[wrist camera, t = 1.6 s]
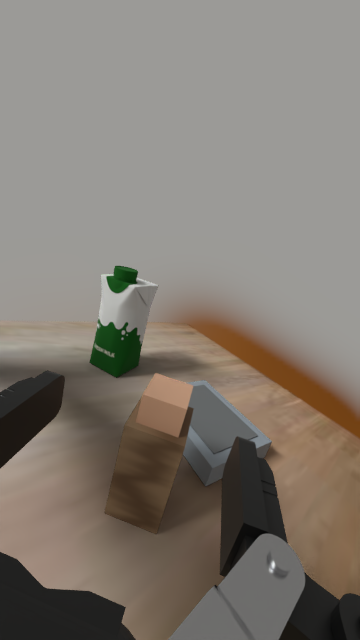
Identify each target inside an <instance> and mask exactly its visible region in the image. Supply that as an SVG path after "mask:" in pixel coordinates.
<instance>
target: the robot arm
mask: <svg viewBox="0 0 360 640" xmlns="http://www.w3.org/2000/svg"><path fill="white" fill-rule="evenodd" d="M64 381H65V378H64V376H62V375H59V374H56V373H53V372H51V371H45V372H43V373H42V374H40V375H39V376H37V377H36V378H32V377H31V378H28V379H25V380H22V381H18V382H17V383H15V384H13V385H12V386H10V387H8V388H7V390H6V389H5V390H3V391H2V392H0V468H1V467H3V466H4V465H5V464H6V463H7V462H8V461H9V460H10V459H11V458H12V457H13V456H14V455H15V454H16V453H17V452H19V451H20V450H21V449H22V448H23V447H24V446H25V445H26V444H27V443H28V442H29V441H30V440H31V439H32V438H33V437H35V436H36V435H37V434H38V433H39V432H40V431H41V430H42V429H43V428H44V427H45V426H46V425H47V424H48V423H49V422H51V421H52V420H53V419H54V418H55V417H56V415H57V414H58V412H59V410H60V408H61V404H62V397H63V389H64ZM277 496H278V495H277V490H276V487H275V481H274V476H273V472H272V470H271V468H270V467H269V465H268V463H267V462H266V460H265V459H262V458H259V457H257V450H256V444H255V442H253V441H250V440H247V439H244V438H241V437H238V436H237V437H236V438H235V440H234V443H233V446H232V448H231V451H230V453H229V456H228V458H227V461H226V464H225V467H224V471H223V477H222V508H221V549H220V575H222V576H224V577H225V578H224V580H223V581H222V582H221V583H220V584H219V585H218V586H216V585H215V586H213V587H212V588H211V589H210V590H209V591H208V592H207V593H206V595H205V596H204V597H203V598H202V599H201V601H200V602H199V603H198V604H197V605H196V607H195V608H194V609H193V610H192V611H191V613H190V614H189V615H188V616H187V617H186V619H185V620H184V621H183V622H182V624H181V625H180V626H179V627H178V628H177V630H176V631H175V632H174V633H173V634H172V636H171V637H170V638H169V639H168V640H360V596H358V595H356V594H351V593H349V594H345V595H343V597H342V598H341V599H340V600H338V599H337V598H336V597H334V596H333V595H332V594H330V593H329V592H328V591H326V590H325V589H324V588H322V587H321V586H320V585H318V584H317V583H316V582H315V581H313V580H312V579H311V578H310V577H309V576H308V575H307V574H306V573H305V572H304V569H303V567H302V564H301V562H300V560H299V558H298V556H297V555H296V553H295V552H294V550H293V549H292V548H291V547H290V546H289V545H288V543H287V539H286V534H285V529H284V524H283V519H282V514H281V510H280V505H279V500H278V498H277ZM125 608H126V607H124V606H122V605H119V604H117V603H115V602H112V601H110V600H108V599H106V598H103V597H101V596H99V595H97V594H94V593H92V592H90V591H77V590H60V589H47V588H45V587H43V586H42V585H41V584H40V583H39V582H38V581H37V580H36V579H35V578H34V577H33V576H32V575H31V574H30V573H29V571H28V570H27V569H26V568H25V567H24V566H23V565H22V564H21V563H20V562H19V561H18V560H17V559H15V558H13V557H10V556H8V555H6V554H4V553H1V552H0V640H136V639H135V638H134V637H133V635H132V634H131V633H130V631H129V630H128V629H127V628H126V627H125V626H124V625H123V624H122V623H121V622H122V618H123V615H124V611H125Z"/></svg>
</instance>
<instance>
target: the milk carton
mask: <svg viewBox="0 0 360 640" xmlns="http://www.w3.org/2000/svg"><path fill="white" fill-rule="evenodd" d="M137 274H138V271H137V270H135V269H132V268H128V267H123V266H115V269H114V274H102V275H101V282H102V283H101V284H102V299H101V305H100V312H99V318H98V324H97V330H96V336H95V341H94V345H93V350H92V354H91V359H90V363H91V364H93V365H95V366H96V367H98V368H100V369H102V370H104V371H105V372H107V373H109V374H111V375H113V376H115V377H116V378H117V377H119V376H120V375H122V374H124V373H126V372H127V371H129V370H131V369H133V368H135V367H136V366H138V364H139V358H140V352H141V346H142V342H143V338H144V333H145V329H146V325H147V320H148V316H149V311H150V307H151V304H152V301H153V299H154V296H155V293H156V290H157V288H158V285H156V284H153V283H150V282H148V281H145V280H142V279H139V278H137Z"/></svg>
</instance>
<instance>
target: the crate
mask: <svg viewBox="0 0 360 640" xmlns="http://www.w3.org/2000/svg"><path fill="white" fill-rule="evenodd" d="M141 398H142V397H141ZM140 403H141V399H140V400H139V402H138V404H137V405H136V407H135V409H134V410H133V412H132V414H131V415H130V417H129V418H128V420H127V422H126V423H125V425H124V430H123V434H122V438H121V443H120V447H119V451H118V456H117V460H116V465H115V469H114V473H113V478H112V482H111V486H110V491H109V495H108V500H107V504H106V508H105V514H108V515H110V516H113V517H115V518H118V519H120V520H122V521H125V522H127V523H130V524H132V525H135V526H137V527H140V528H142V529H145V530H147V531H149V532H152V533H154V534H157V531H158V528H159V525H160V522H161V519H162V515H163V512H164V509H165V506H166V503H167V500H168V497H169V494H170V491H171V488H172V485H173V482H174V479H175V476H176V473H177V470H178V467H179V464H180V461H181V458H182V455H183V452H184V448H185V445H186V440H187V436H188V432H189V427H190V423H191V418H192V414H193V410H194V408H191V407H188V408H187V411H186V415H185V418H184V421H183V424H182V427H181V431H180V434H179V437H175V436H173V435H170V434H167V433H164V432H161V431H159V430H156V429H153V428H150V427H148V426H145V425H142V424H139V423H136V419H137V415H138V411H139V407H140Z"/></svg>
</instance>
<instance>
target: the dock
mask: <svg viewBox="0 0 360 640" xmlns="http://www.w3.org/2000/svg"><path fill="white" fill-rule="evenodd" d="M187 384H190V385H193V389H192V393H191V397H190V401H189V404H188V407H191V408H194V410H193V414H192V418H191V423H190V427H189V432H188V436H187V440H186V445H185V448H184V452H183V455H184V456H185V458H186V459H187V461H188V462H189V464H190V465H191V466H192V468H193V469H194V471H195V472H196V474H197V475H198V476H199V478H200V479H201V481H202V482H203V484H204V485H205V486H208V485H210V484H212V483H214V482H216V481H218V480H220V479H222V477H223V471H224V467H225V464H226V461H227V458H228V456H229V453H230V451H231V448H232V446H233V443H234V440H235V438H236V437H237V436H238V437H241V438H244V439H247V440H250V441H253V442H255V444H256V450H257V457H259V458H264V457H265V456H266V453H267V451H268V449H269V447H270V445H271V442H272V441H271V440H270V439H269V438H268V437H267V436H265V435H264V434H263V433H262V432H261V431H260V430H259V429H258V428H257V427H256V426H255V425H253V424H252V423H251V422H250V421H249V420H248V419H247V418H246V417H245V416H244V415H243V414H241V413H240V412H239V411H238V410H237V409H236V408H235V407H234V406H233V405H232V404H230V403H229V402H228V401H227V400H226V399H225V398H224V397H223V396H222V395H221V394H220V393H218V392H217V391H216V390H215V389H214V388H213V387H212V386H211V385H210V384H209V383H208V382H206V381H205V380H202V381H195V382H189V383H187Z"/></svg>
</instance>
